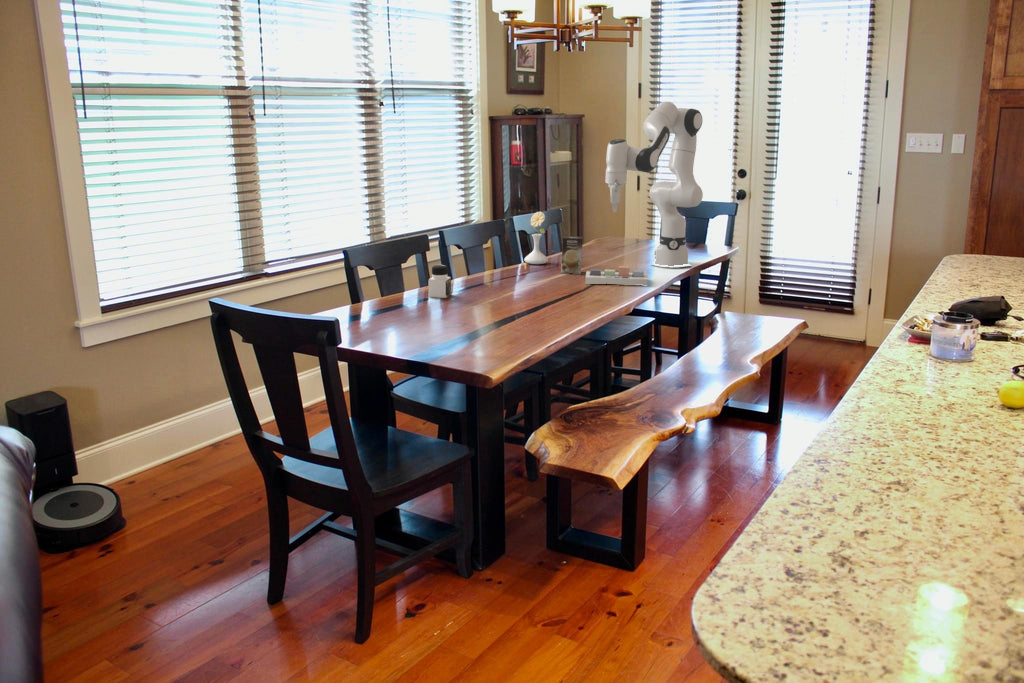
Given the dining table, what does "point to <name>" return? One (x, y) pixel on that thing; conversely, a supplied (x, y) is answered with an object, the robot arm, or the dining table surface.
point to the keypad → (616, 279)
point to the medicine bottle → (439, 282)
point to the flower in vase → (536, 241)
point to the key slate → (638, 273)
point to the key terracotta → (623, 271)
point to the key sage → (609, 272)
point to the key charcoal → (595, 272)
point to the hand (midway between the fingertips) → (614, 212)
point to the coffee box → (571, 254)
